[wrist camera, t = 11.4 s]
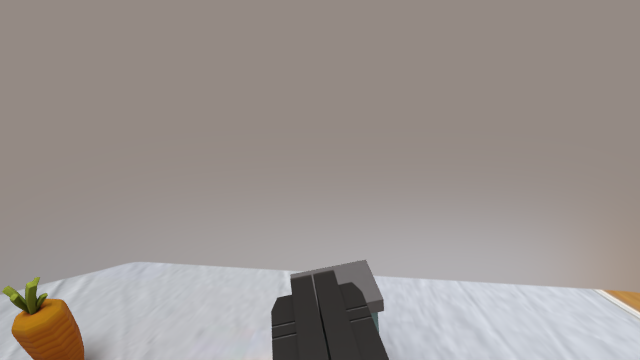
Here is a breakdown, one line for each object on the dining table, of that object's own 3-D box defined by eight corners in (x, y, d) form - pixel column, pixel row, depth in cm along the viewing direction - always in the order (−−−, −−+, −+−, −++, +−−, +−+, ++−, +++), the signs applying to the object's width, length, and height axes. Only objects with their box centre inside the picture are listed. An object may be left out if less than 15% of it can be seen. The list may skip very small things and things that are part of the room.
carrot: (48, 384, 39) (-20, 292, 33) (91, 351, 43) (37, 263, 37) (64, 404, 37) (-7, 308, 30) (109, 368, 40) (54, 276, 34)
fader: (388, 405, 29) (383, 299, 24) (316, 422, 29) (294, 317, 23) (373, 358, 34) (365, 259, 28) (310, 372, 33) (290, 274, 28)
